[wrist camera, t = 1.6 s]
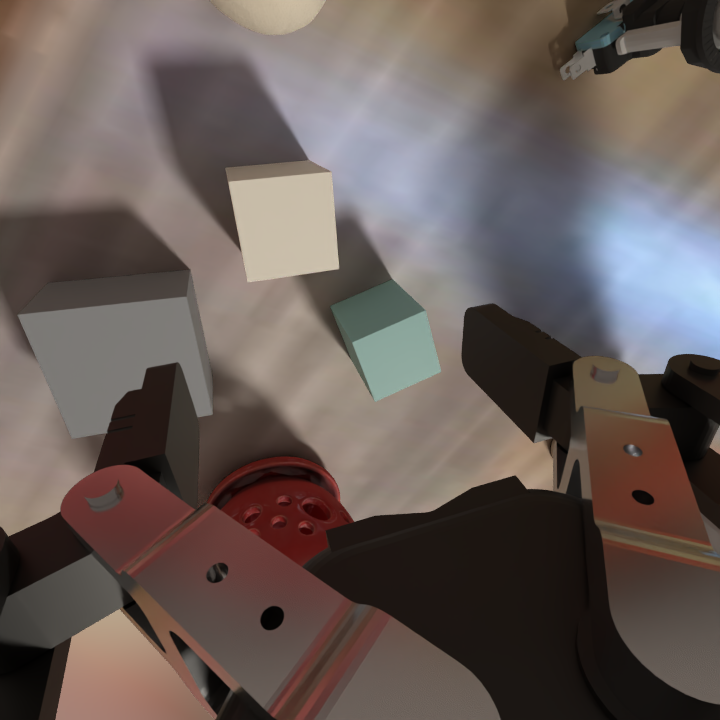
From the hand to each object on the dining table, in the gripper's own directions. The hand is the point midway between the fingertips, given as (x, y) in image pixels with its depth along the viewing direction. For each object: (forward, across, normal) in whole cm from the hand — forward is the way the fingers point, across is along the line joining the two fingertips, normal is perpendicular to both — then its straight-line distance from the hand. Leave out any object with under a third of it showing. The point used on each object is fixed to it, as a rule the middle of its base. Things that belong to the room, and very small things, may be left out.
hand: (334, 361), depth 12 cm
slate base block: (+19, +9, +6) cm, 22 cm away
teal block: (+18, -7, +8) cm, 21 cm away
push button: (+19, -23, -8) cm, 31 cm away
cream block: (+18, -1, -1) cm, 19 cm away
